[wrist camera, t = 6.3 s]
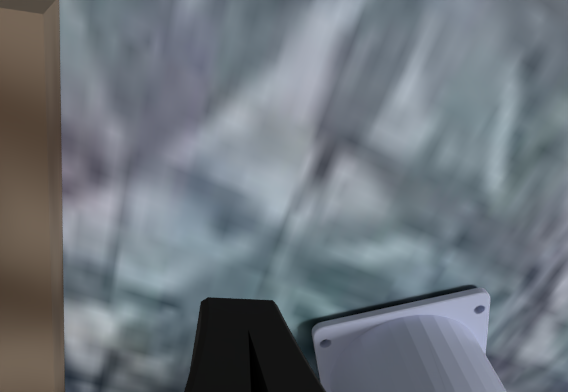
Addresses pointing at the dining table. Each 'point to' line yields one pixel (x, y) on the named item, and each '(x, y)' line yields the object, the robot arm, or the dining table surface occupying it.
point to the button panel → (31, 199)
